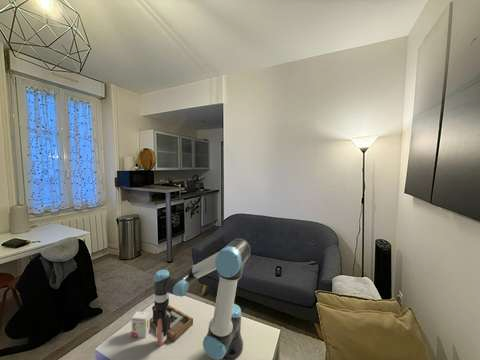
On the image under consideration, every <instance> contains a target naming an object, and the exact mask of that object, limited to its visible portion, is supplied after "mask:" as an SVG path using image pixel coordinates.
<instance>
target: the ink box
mask: <svg viewBox="0 0 480 360" xmlns="http://www.w3.org/2000/svg"><path fill="white" fill-rule="evenodd" d="M150 317H151V316H150V312H145V311H136V312H135V313H134V314H133V316H132V317H131V338H147V336H148V334H149V332H150V327H151V326H150V319H151V318H150Z"/></svg>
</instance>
